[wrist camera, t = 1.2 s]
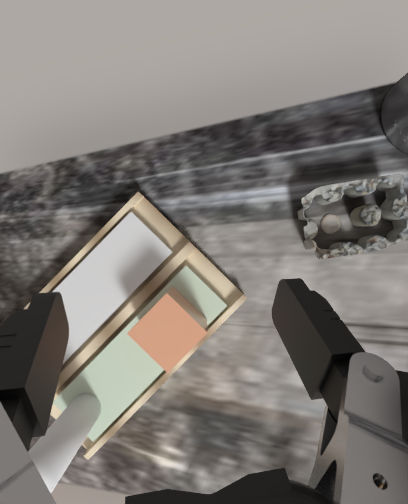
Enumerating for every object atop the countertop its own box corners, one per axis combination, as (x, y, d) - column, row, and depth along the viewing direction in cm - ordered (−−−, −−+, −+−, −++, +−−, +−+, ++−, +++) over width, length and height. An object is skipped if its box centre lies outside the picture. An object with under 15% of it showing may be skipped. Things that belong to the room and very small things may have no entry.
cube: (172, 285, 32) (166, 292, 27) (206, 319, 32) (207, 332, 27) (139, 320, 32) (126, 333, 27) (173, 353, 32) (167, 373, 27)
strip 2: (186, 264, 32) (177, 273, 21) (226, 304, 33) (238, 332, 22) (56, 397, 33) (-19, 472, 22) (96, 436, 33) (42, 531, 22)
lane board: (142, 194, 34) (138, 191, 32) (244, 295, 34) (247, 298, 32) (-9, 348, 34) (-22, 354, 32) (94, 447, 34) (87, 460, 32)
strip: (133, 212, 32) (97, 194, 21) (173, 251, 32) (157, 253, 21) (3, 345, 33) (-100, 394, 22) (43, 384, 33) (-39, 453, 22)
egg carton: (302, 260, 34) (315, 262, 30) (292, 194, 34) (303, 187, 30) (396, 245, 34) (422, 244, 30) (386, 178, 34) (410, 169, 30)
